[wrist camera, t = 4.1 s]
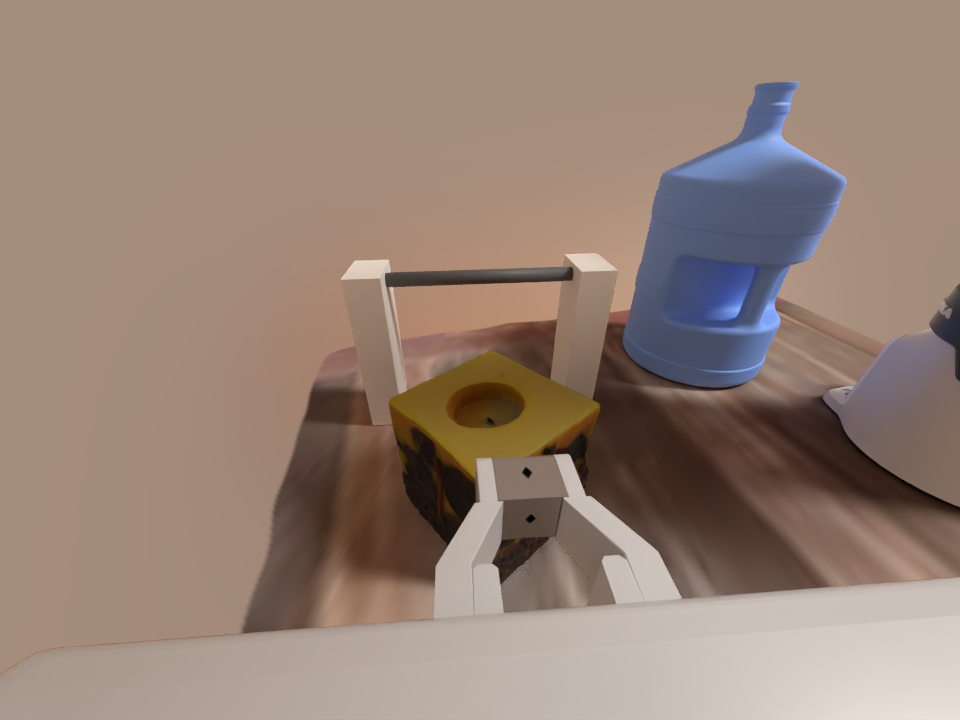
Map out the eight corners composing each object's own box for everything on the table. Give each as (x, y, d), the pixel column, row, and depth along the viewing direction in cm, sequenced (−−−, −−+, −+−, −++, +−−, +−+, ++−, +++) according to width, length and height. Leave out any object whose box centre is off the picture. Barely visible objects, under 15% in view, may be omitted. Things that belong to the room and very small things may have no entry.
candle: (585, 504, 28) (608, 404, 23) (491, 600, 22) (492, 496, 17) (494, 436, 34) (495, 345, 29) (403, 497, 29) (384, 398, 23)
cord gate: (575, 384, 41) (596, 253, 33) (589, 413, 37) (618, 270, 29) (380, 395, 40) (354, 260, 32) (372, 425, 36) (340, 279, 28)
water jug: (600, 333, 52) (646, 92, 37) (698, 323, 54) (778, 93, 39) (665, 399, 39) (776, 68, 24) (791, 383, 41) (962, 71, 26)
